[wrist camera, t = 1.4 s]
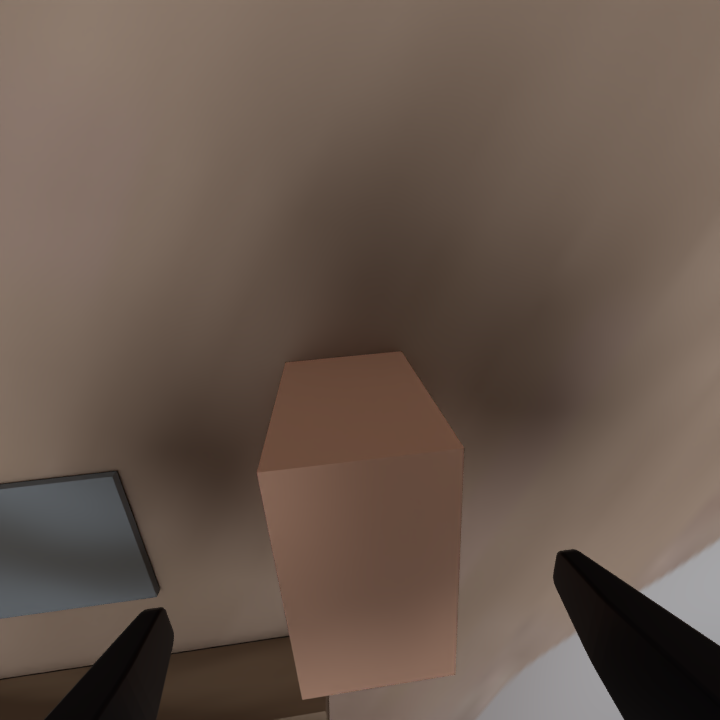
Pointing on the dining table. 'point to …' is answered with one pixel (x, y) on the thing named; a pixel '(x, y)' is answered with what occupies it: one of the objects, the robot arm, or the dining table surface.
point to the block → (363, 523)
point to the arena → (118, 584)
